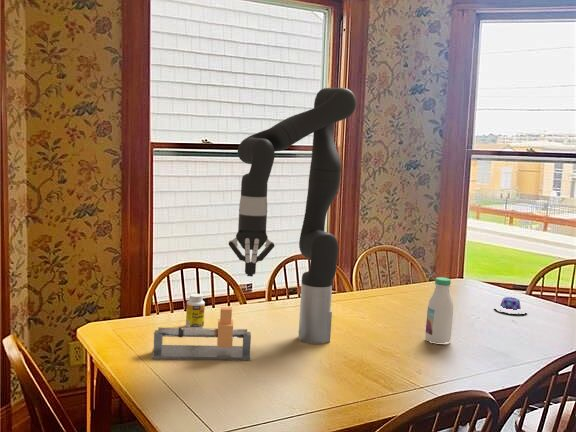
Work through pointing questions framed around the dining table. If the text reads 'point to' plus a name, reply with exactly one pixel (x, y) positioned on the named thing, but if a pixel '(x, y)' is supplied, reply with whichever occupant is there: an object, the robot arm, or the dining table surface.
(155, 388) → the dining table surface
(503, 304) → the pudding
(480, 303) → the dining table surface
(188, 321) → the supplement bottle
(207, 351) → the pipe stand
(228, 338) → the collar
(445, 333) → the milk bottle
